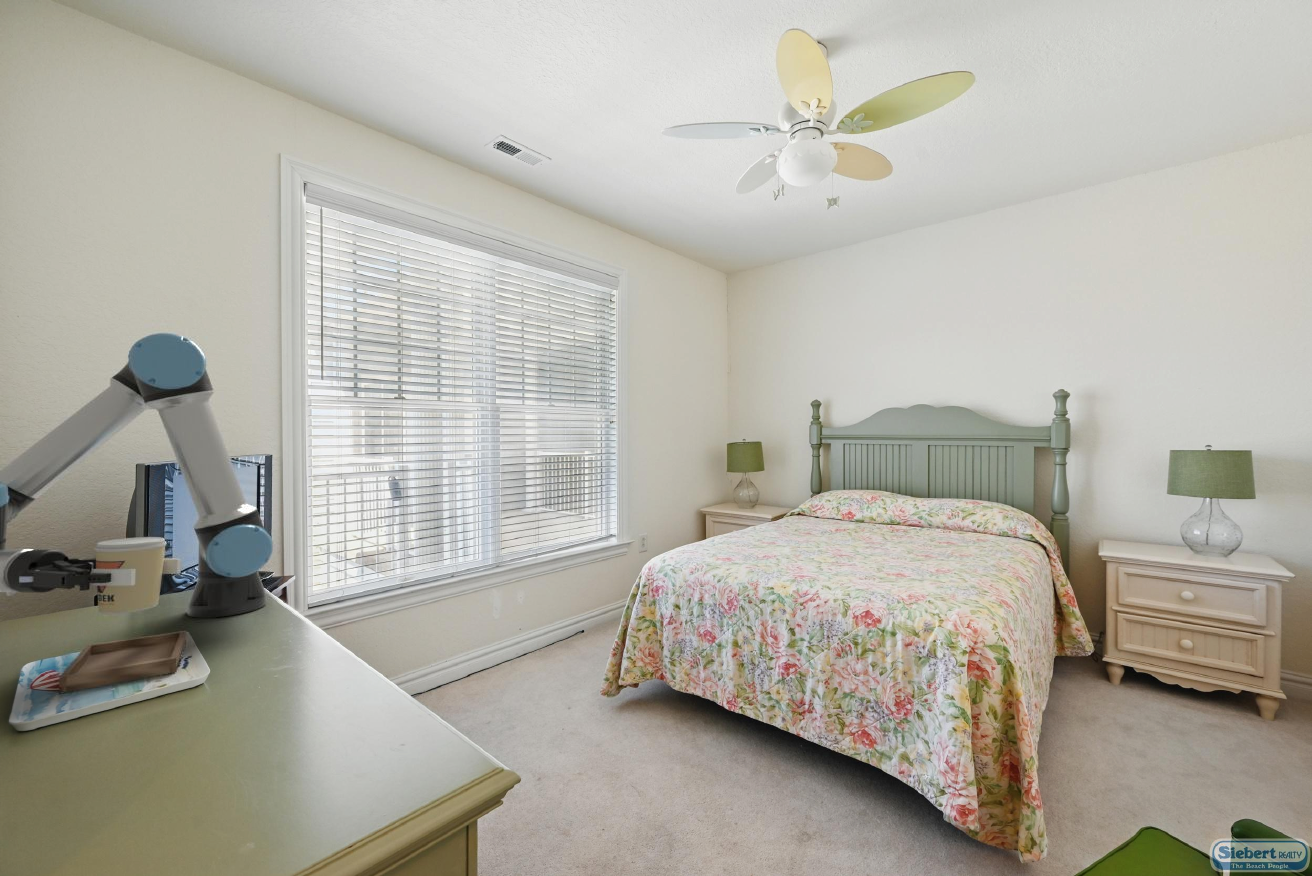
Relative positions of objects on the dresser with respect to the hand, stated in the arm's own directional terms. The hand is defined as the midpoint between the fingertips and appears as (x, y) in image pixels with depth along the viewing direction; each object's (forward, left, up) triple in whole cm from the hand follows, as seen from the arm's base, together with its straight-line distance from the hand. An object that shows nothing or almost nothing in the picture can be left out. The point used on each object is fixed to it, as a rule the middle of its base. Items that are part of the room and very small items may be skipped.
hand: (157, 571), depth 99 cm
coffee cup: (+4, -3, -7) cm, 8 cm away
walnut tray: (+4, -3, -17) cm, 17 cm away
